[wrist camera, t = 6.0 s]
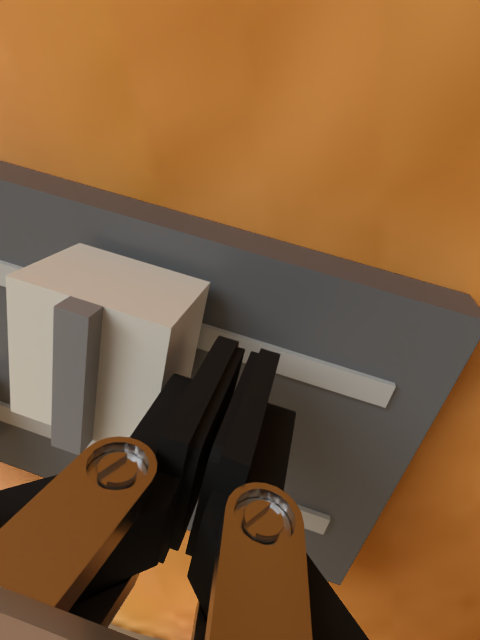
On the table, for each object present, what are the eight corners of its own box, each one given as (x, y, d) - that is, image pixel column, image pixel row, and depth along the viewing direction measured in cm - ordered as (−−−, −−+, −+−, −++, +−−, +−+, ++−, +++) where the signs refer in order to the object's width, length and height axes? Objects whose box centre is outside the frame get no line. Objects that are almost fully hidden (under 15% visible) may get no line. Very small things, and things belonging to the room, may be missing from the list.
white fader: (210, 282, 12) (160, 340, 8) (187, 394, 14) (139, 476, 10) (79, 242, 12) (-15, 284, 9) (74, 356, 14) (-6, 425, 11)
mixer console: (469, 294, 13) (492, 325, 11) (340, 540, 18) (339, 590, 16) (-103, 131, 15) (-171, 131, 13) (-65, 397, 20) (-109, 426, 18)
